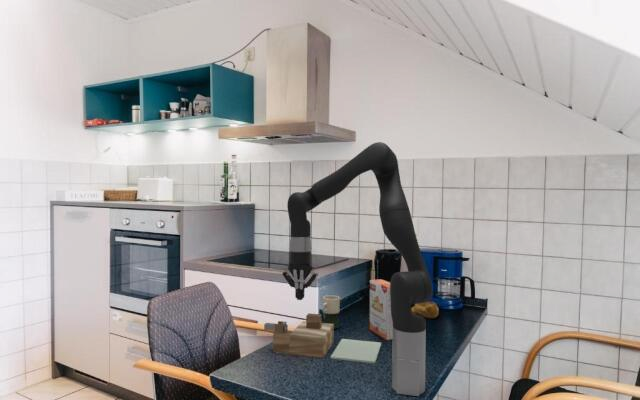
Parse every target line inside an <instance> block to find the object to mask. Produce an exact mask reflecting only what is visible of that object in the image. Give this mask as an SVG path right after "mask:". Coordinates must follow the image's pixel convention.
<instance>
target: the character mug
mask: <svg viewBox="0 0 640 400" xmlns="http://www.w3.org/2000/svg"><path fill="white" fill-rule="evenodd" d="M340 299H341V297H340V296H339V295H332V294H331V295H324V296H322V312H323V313H324V319H323V323H327V324H334V329H335V330H336V329H338V328H339V319H338V314H339V313H340V310H341V309H340V307H341V306H340V302H341V301H340Z"/></svg>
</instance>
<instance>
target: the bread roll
mask: <svg viewBox="0 0 640 400" xmlns="http://www.w3.org/2000/svg"><path fill="white" fill-rule="evenodd" d="M411 312H412V314H416V315H419V316H421V317H423V318H424V319H435V318H437V317H438V316H439V312H440V309H439V306H437V303H436V302H434V301H428V302H426V303H419V304H414V306H411Z"/></svg>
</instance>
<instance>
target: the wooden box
mask: <svg viewBox="0 0 640 400" xmlns="http://www.w3.org/2000/svg"><path fill="white" fill-rule="evenodd" d="M282 322H284V321H281V320H277V323H274V324H275V331H272V332H273V333H272V352H273V351H274V352H279V353H286V354H285V355H288V354H291V356H297V355H298V357H306V358H307V357H308V358H317V359H324V357H326V355H327V353H328V352H329V351H330V348H331V347H332V346H333V344H334V339H335V338H334V333H335V331H334V327H333V328H332V330H331V331H330V332H329V334H328V335H327V336H326V337H325V339H324V340H312V339H302V338H292V337H289V334H290V333H291V332H292V331H293V330H290V329H289V330H287V331H286V332H283V324H282ZM285 322H286V325H288V324H287V321H285ZM279 353H278V354H279Z"/></svg>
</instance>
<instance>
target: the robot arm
mask: <svg viewBox="0 0 640 400" xmlns="http://www.w3.org/2000/svg"><path fill="white" fill-rule="evenodd" d="M369 171H371V172H372V173H373V174H374V176H375V179H376V181H377V185H378V189H379V193H380V194H379V203H378V204H379V208H378V212H379V219H380V223H381V226H382V231H383V233H384V235H385V237H386V239H388V241H389V242H390V243H391V245H392V246H393V247H394V248H395V250H397V252H398V253H399V254H400V255H401V257H402V258H403V260H404V262H405V265H406V268H407V271H397V272H395V273H393V275H392V276H391V279H390V281H389V282H390V299H391V316H392V321H393V340H392V348H391V349H392V355H391V357H392V359H391V361H392V362H391V363H392V365H391V367H392V369H391V375H392V376H391V380H392V381H391V387H392V389H393V390H394V391H395V392H396V394H397V395H398V394H399V395H406V396H415V397H420V395H422V394H423V393H425V391H426V345H427V344H426V343H427V342H426V338H427V335H426V333H427V332H426V330H427V327H426V326H427V321H426V318H424V317H421V316H419V315H416V314H412V312H411V308H412V305H415V304H419V303H427V302H431V300H432V297H433V293H434V292H433V291H434V290H433V284H432V279H431V276H430V273H429V269H428V267H427V264H426V262H425V260H424V257H423V254H422V251H421V248H420V246H419V243H418V239H417V235H416V231H415V227H414V223H413V218H412V215H411V211H410V210H411V209H410V208H409V204H408V201H407V197H406V195H405V192H404V189H403V186H402V182H401V181H402V180H401V176H400V169H399V162H398V158H397V155H396V154H395V151H393V150H392V149H391V148H390V147H389V146H388V145H387V144H386V143H384V142H382V141H380V142H379V141H378V142H377V141H376V142H374V143H371V144H369V145H368V146H367V147H366V148H365V149H363V150H362V151H360V152H359V153H357V155H355V156H354V157H353V158H352V159H350V160H349V161H347V162H346V163H345V164H344V165H343V166H341V167H340V168H339V169H337V170H336V171H334V172H332V173H330V174H328V176H325V177H323V178H322V179H320V180H318V181H316V182H314V183H313V184H312V185H311V188H309V189H307V190H305V191H303V192H298V191H297V192H293V193H291V194H290V195H289V196H288V200H287V213H288V218H289V222H290V233H289V234H290V237H289V238H290V239H289V265H288V268H287V270H286V271H285V270H284V271H283V272H282V273H281V274H282V276H283V277H284V279H285V280H286V282H287V283H288V285H289V286H290V287H291V288H294V289H295V293H294V295H295V298H296V300H297V301H302V300H303V299H304V298H305V289H307V288H309V287H310V286H311V285H312V283H314V282H315V280H316V279H317V277H318V275H319V274H318V273H317V272H315V271H314V270H313V267H312V240H311V238H312V237H311V235H312V234H311V222H310V220H308V215H307V213H308V212H310V211H312V210H313V209H315V208H316V207H318V206H319V205H321V204H322V203H323V202H325V201H328V200H329V199H331V198H333V197H335V196H337V195H338V194H340V193H341V192H343V191H344V190H345V189H346V188H347V187H348V186H349V184H351V182H353V181H354V180H355V179H356V178H357V177H358V176H360V175H362V174H363V173H367V172H369ZM308 277H309V279H308V281H307V278H308Z"/></svg>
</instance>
